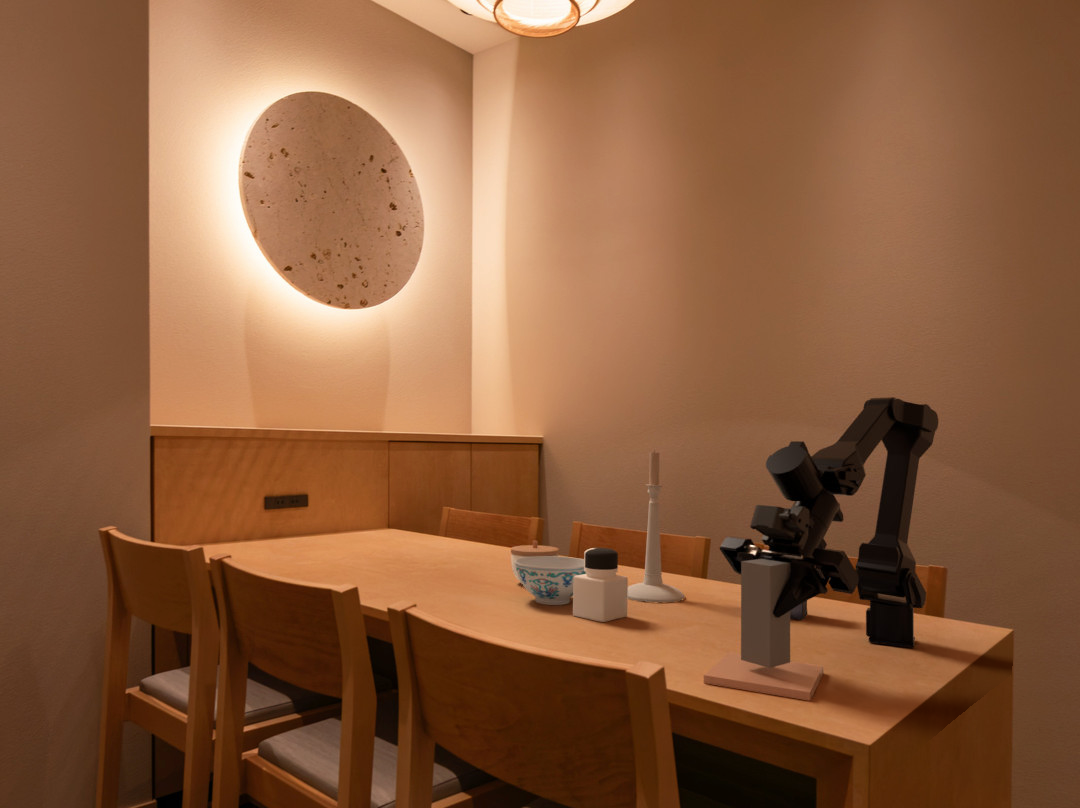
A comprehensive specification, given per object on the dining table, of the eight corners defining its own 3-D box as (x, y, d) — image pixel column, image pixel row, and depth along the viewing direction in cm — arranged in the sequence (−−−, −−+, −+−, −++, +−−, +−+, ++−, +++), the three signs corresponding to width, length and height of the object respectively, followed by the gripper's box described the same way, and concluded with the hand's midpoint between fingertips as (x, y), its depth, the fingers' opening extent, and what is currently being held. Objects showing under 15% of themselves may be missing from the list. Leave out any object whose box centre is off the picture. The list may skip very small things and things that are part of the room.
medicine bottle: (628, 616, 134) (629, 549, 134) (603, 623, 128) (604, 552, 129) (596, 610, 139) (598, 545, 139) (571, 616, 133) (573, 548, 134)
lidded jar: (567, 583, 166) (568, 540, 167) (542, 590, 157) (542, 545, 158) (527, 577, 172) (528, 536, 172) (500, 584, 163) (501, 541, 163)
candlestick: (615, 599, 149) (617, 449, 151) (628, 588, 161) (630, 449, 163) (679, 605, 145) (681, 450, 147) (688, 593, 157) (689, 451, 159)
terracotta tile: (823, 673, 102) (823, 665, 102) (809, 700, 90) (809, 692, 90) (727, 659, 108) (727, 651, 108) (703, 683, 96) (703, 675, 96)
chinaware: (546, 591, 156) (547, 553, 157) (605, 601, 147) (606, 562, 147) (498, 601, 145) (499, 561, 145) (559, 613, 135) (560, 570, 136)
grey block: (761, 654, 102) (761, 558, 103) (790, 662, 99) (790, 563, 99) (740, 659, 99) (741, 561, 100) (769, 668, 96) (770, 566, 97)
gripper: (727, 481, 110) (677, 562, 103) (846, 488, 95) (797, 583, 88) (759, 531, 115) (713, 613, 107) (878, 545, 100) (833, 641, 92)
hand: (759, 612), depth 99 cm, fingers closed on grey block, 4 cm apart
